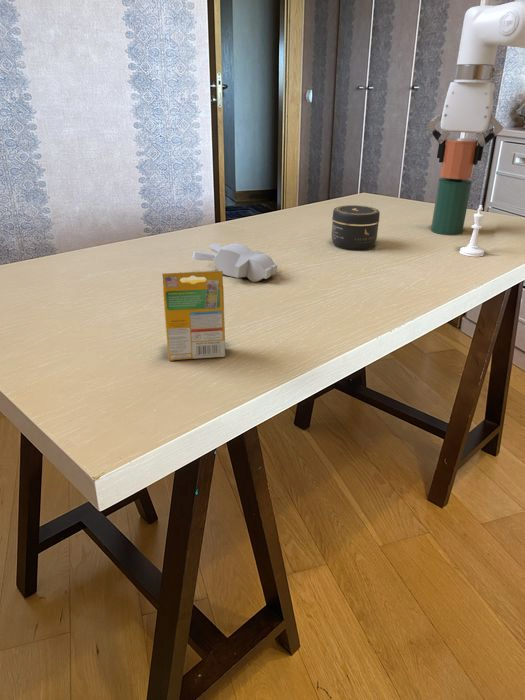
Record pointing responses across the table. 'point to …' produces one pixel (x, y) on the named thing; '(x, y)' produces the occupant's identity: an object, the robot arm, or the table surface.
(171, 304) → the crayon box
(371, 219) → the jar
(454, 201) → the bottle
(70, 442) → the table surface
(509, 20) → the robot arm
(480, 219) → the chess piece
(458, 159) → the terracotta orange cylinder
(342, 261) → the table surface
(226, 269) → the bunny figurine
